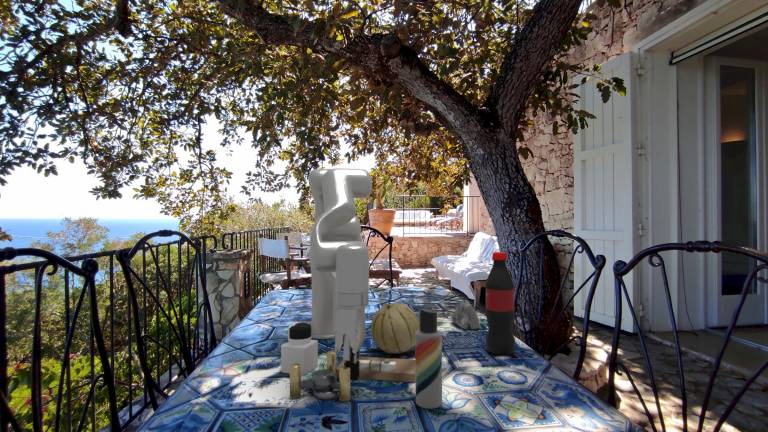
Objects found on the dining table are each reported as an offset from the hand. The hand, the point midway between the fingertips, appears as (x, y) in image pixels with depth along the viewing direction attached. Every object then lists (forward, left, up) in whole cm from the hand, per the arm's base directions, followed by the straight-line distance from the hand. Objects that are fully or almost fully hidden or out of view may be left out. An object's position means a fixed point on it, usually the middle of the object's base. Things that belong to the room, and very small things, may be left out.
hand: (351, 378), depth 89 cm
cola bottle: (+37, +35, -3) cm, 51 cm away
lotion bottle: (+18, -2, -3) cm, 18 cm away
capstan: (-5, -2, -3) cm, 6 cm away
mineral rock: (+27, +65, -4) cm, 70 cm away
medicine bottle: (-17, +12, -3) cm, 21 cm away
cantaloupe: (+6, +30, -3) cm, 30 cm away
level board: (+4, +13, -3) cm, 14 cm away
